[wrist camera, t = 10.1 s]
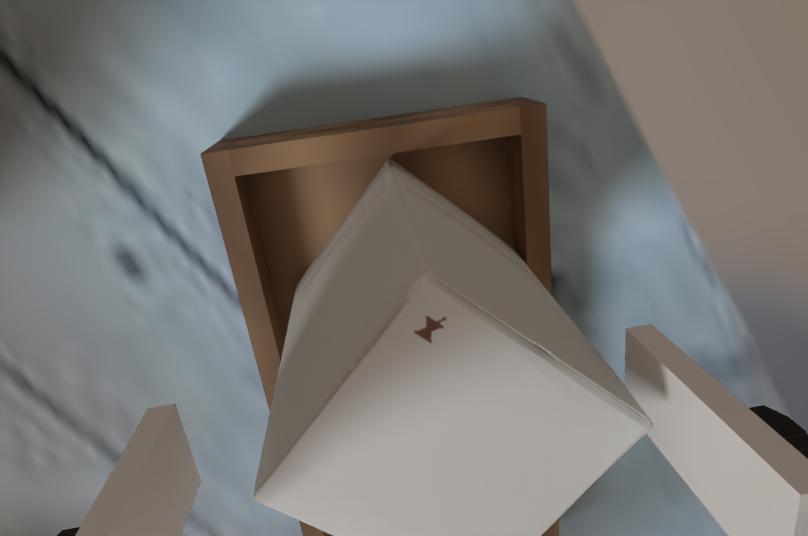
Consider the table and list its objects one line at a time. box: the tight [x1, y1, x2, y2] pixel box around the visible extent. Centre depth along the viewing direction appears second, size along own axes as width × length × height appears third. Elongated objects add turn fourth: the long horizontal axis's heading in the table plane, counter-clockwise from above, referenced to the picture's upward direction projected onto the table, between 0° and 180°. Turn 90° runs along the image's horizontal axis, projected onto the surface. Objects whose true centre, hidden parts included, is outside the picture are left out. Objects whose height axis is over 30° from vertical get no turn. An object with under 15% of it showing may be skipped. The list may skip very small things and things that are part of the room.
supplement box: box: [254, 159, 653, 536], centre depth 19 cm, size 7×7×13 cm
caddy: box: [201, 97, 559, 536], centre depth 27 cm, size 13×25×3 cm, turn 7°
